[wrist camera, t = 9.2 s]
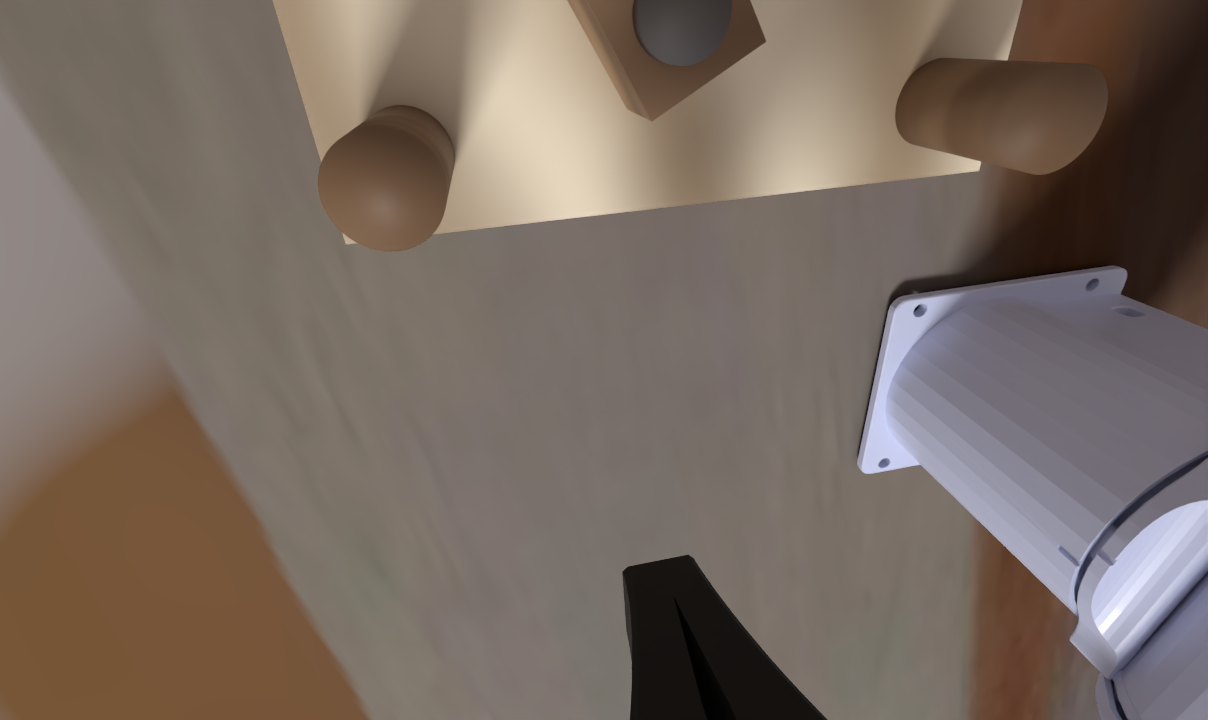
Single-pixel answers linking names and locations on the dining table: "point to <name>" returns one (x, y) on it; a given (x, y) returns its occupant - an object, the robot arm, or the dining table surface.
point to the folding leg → (667, 45)
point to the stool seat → (676, 138)
